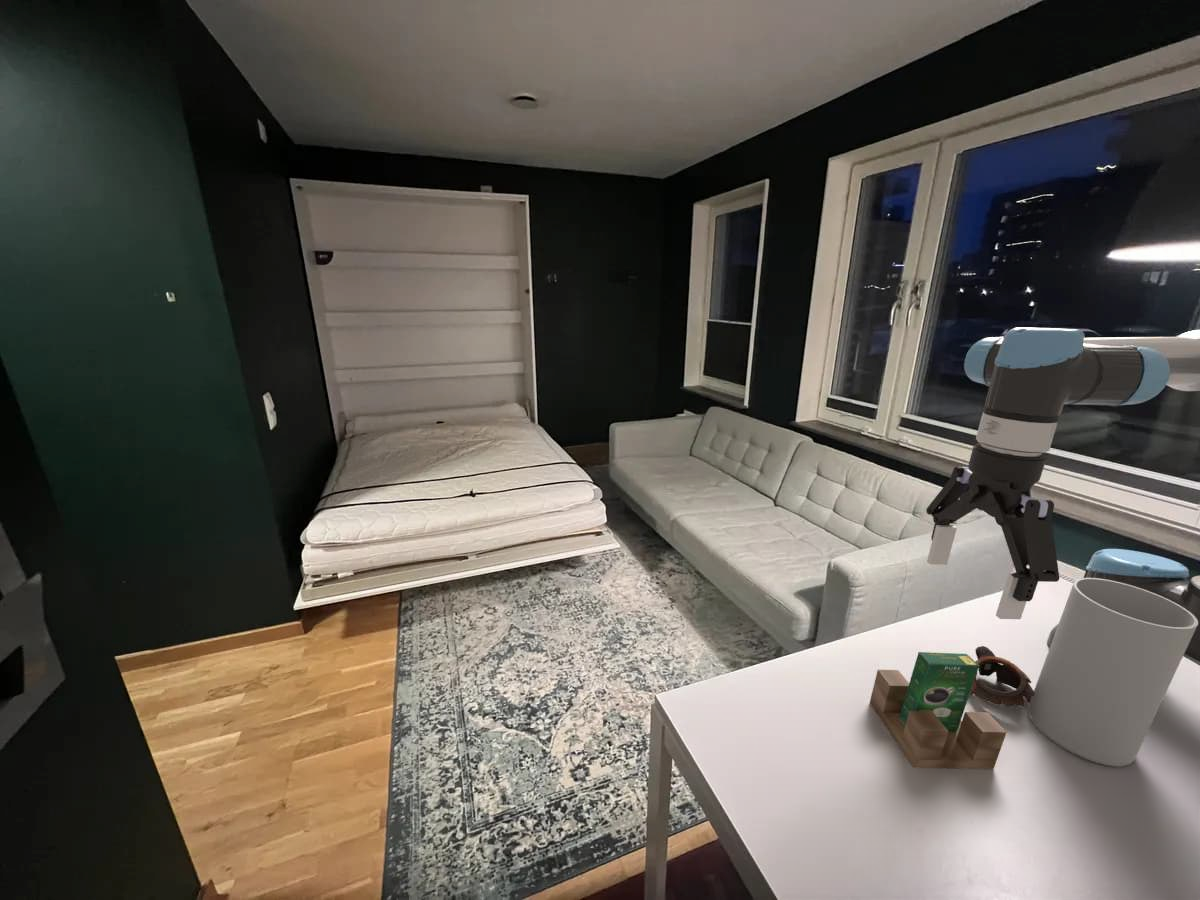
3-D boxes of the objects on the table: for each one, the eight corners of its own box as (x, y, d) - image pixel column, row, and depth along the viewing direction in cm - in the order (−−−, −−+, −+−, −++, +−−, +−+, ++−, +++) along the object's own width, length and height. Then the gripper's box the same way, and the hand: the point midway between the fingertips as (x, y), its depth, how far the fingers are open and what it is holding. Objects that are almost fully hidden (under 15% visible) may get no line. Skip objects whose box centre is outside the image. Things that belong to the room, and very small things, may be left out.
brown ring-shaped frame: (1049, 720, 80) (1049, 694, 76) (987, 730, 83) (983, 705, 79) (1002, 656, 90) (999, 630, 87) (948, 667, 93) (943, 643, 89)
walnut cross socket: (938, 704, 82) (948, 671, 80) (993, 769, 71) (1006, 732, 69) (869, 702, 82) (877, 669, 80) (913, 767, 70) (924, 730, 68)
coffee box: (946, 718, 77) (967, 651, 74) (959, 733, 75) (981, 664, 71) (897, 716, 77) (915, 650, 74) (908, 732, 75) (928, 663, 71)
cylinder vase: (1133, 786, 69) (1202, 641, 61) (1021, 730, 77) (1069, 598, 70) (1133, 736, 77) (1194, 604, 69) (1032, 691, 86) (1077, 569, 78)
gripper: (919, 424, 74) (892, 545, 81) (1072, 481, 51) (1016, 646, 57) (967, 425, 75) (935, 546, 81) (1141, 482, 51) (1078, 647, 57)
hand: (968, 588), depth 69 cm, fingers open, 13 cm apart
